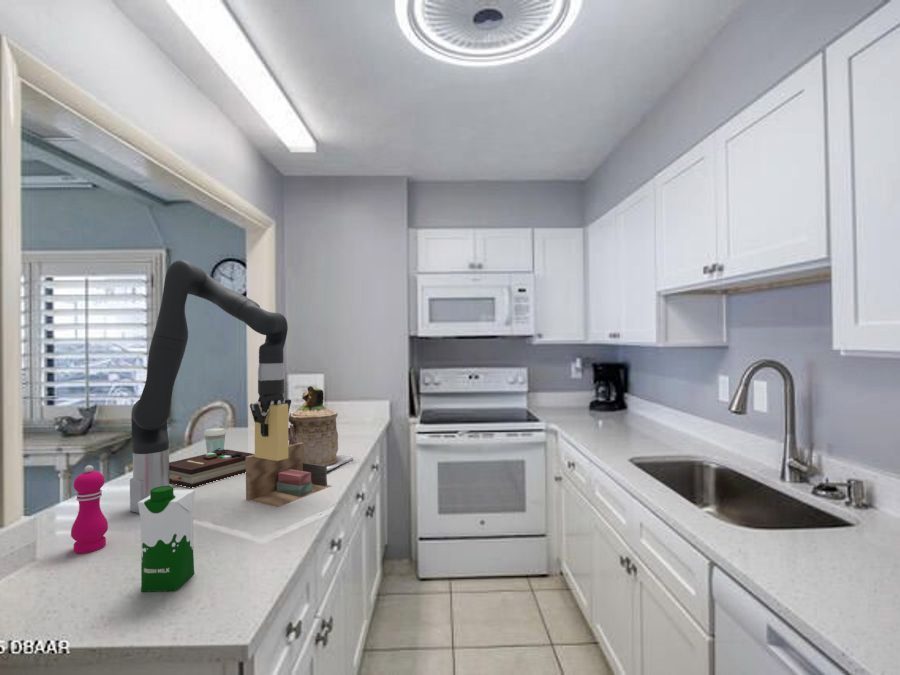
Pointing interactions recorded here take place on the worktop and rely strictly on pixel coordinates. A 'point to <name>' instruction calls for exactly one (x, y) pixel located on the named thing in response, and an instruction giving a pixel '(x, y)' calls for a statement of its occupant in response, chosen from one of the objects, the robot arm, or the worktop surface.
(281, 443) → the ochre book
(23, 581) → the worktop surface
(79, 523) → the pepper mill
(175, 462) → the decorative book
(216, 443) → the coffee cup
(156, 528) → the milk carton
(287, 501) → the shelf
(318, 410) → the cookie jar
